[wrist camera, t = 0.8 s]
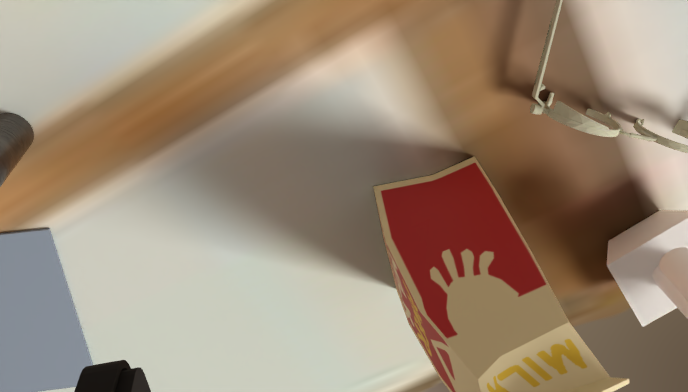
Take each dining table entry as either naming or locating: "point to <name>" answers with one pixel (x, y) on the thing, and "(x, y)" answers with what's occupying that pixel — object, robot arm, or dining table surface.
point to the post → (13, 142)
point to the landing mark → (37, 317)
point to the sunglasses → (584, 123)
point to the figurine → (653, 264)
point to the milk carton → (479, 289)
